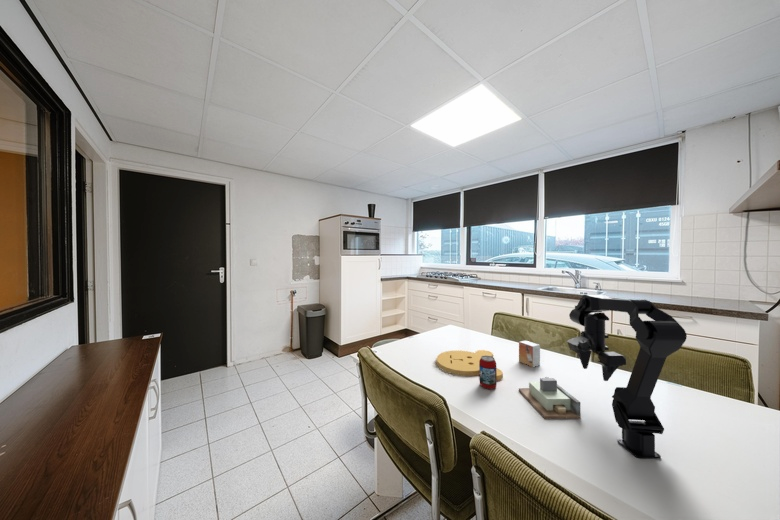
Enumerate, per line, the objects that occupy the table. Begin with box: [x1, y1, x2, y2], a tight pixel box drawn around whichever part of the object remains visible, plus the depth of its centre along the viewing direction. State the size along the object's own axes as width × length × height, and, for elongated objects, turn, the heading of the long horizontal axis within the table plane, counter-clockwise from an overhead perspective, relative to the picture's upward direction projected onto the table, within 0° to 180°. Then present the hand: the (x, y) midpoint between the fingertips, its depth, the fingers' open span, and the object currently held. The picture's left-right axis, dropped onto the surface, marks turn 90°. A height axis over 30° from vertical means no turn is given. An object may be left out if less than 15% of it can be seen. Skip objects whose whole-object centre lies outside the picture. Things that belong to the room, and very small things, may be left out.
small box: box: [518, 339, 541, 368], centre depth 130 cm, size 8×6×10 cm
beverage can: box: [479, 356, 497, 390], centre depth 109 cm, size 7×7×12 cm
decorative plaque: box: [436, 349, 504, 381], centre depth 131 cm, size 31×3×30 cm
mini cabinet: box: [528, 377, 570, 410], centre depth 95 cm, size 12×8×8 cm, turn 179°
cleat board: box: [518, 376, 581, 420], centre depth 95 cm, size 18×12×6 cm, turn 179°
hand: (594, 374), depth 90 cm, fingers open, 9 cm apart
